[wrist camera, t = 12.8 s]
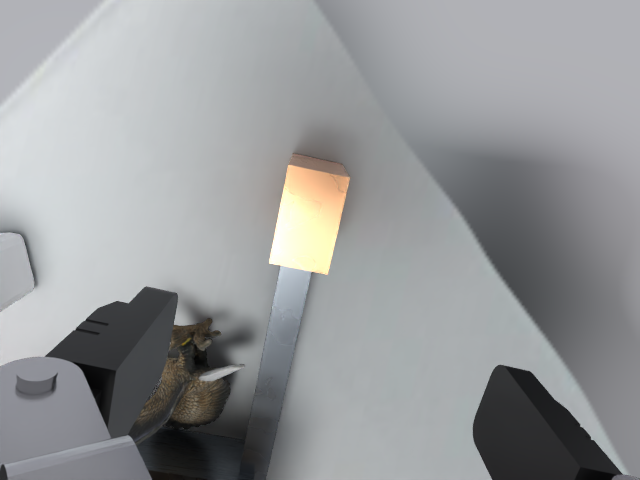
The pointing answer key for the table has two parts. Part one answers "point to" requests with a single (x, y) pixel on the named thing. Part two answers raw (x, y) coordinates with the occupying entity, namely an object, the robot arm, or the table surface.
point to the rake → (292, 285)
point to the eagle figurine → (186, 386)
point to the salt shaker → (14, 269)
